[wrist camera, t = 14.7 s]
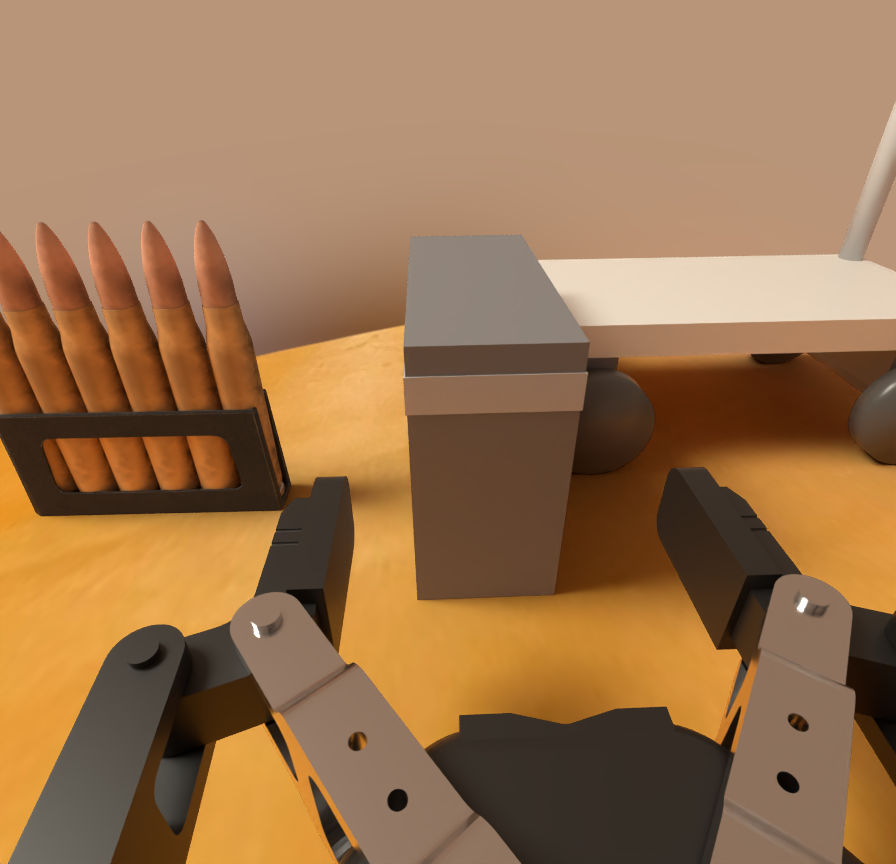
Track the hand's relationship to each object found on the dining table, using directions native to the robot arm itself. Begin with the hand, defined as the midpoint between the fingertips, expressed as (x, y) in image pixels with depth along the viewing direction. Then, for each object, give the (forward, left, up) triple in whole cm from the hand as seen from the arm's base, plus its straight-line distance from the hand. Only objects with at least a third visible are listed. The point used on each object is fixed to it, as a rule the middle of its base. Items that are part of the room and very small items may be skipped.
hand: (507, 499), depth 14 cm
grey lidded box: (0, -9, -7) cm, 11 cm away
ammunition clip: (+14, -9, -7) cm, 18 cm away
